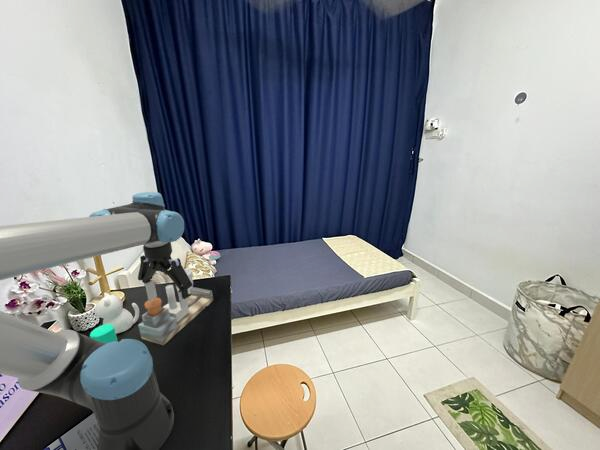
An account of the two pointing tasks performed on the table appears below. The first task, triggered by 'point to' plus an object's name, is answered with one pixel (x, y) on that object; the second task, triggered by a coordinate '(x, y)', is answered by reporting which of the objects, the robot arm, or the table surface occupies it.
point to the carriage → (174, 305)
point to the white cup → (189, 274)
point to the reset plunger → (153, 306)
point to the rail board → (185, 319)
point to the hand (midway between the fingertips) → (168, 302)
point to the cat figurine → (115, 313)
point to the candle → (104, 333)
